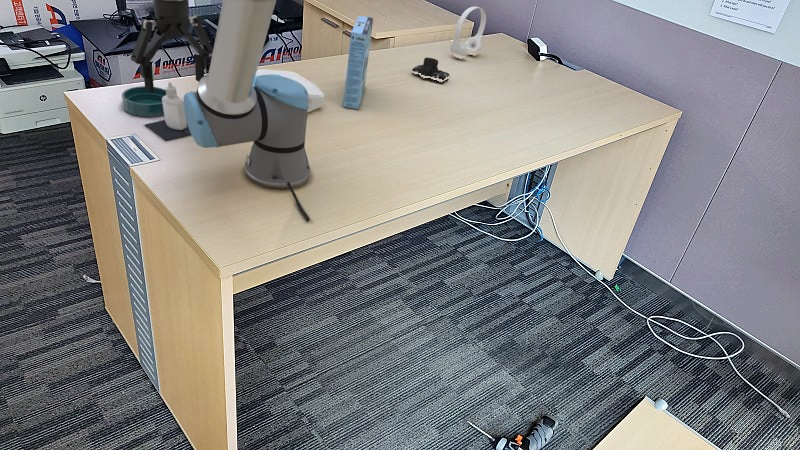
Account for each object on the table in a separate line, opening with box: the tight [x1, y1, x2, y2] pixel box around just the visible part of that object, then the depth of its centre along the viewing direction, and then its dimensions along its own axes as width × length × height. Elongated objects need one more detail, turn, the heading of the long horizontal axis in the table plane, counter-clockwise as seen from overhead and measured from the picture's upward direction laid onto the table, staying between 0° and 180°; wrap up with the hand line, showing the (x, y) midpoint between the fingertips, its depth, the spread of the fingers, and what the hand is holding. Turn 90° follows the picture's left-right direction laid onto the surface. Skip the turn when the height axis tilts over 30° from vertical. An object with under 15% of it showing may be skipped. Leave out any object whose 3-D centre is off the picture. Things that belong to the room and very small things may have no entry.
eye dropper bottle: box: [162, 81, 187, 130], centre depth 151 cm, size 4×6×12 cm
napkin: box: [144, 119, 192, 142], centre depth 154 cm, size 10×12×1 cm
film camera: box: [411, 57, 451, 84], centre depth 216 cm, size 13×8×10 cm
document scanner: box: [253, 68, 325, 114], centre depth 173 cm, size 21×28×6 cm
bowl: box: [121, 85, 166, 117], centre depth 160 cm, size 12×12×4 cm
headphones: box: [449, 6, 487, 57], centre depth 239 cm, size 7×18×20 cm, turn 141°
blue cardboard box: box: [342, 15, 374, 110], centre depth 185 cm, size 20×5×23 cm, turn 177°
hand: (175, 86), depth 148 cm, fingers open, 13 cm apart
